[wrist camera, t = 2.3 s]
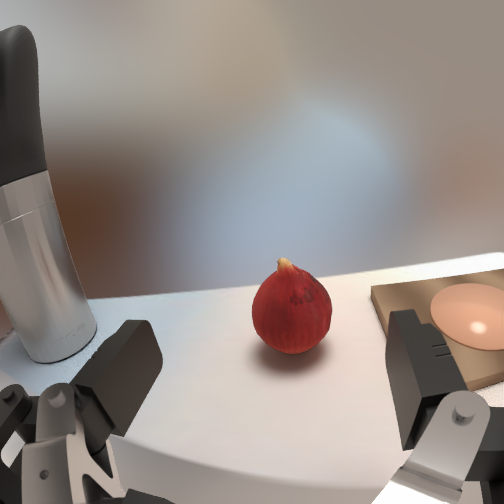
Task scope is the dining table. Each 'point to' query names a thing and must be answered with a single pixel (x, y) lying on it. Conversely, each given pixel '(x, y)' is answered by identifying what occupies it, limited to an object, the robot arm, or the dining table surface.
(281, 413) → the dining table surface
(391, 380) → the robot arm
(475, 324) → the serving board
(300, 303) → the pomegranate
